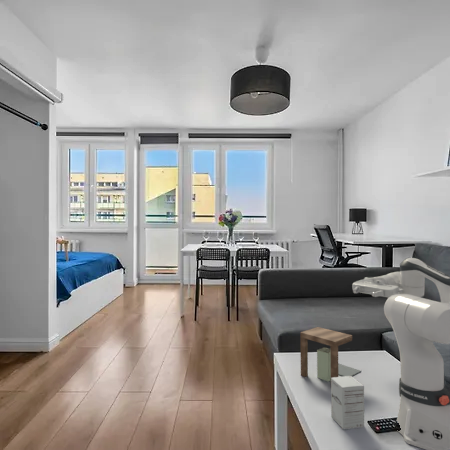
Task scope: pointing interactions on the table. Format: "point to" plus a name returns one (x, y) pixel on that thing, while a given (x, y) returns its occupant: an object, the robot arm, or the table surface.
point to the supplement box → (347, 402)
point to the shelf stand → (322, 337)
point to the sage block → (324, 364)
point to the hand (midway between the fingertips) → (363, 293)
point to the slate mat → (347, 370)
